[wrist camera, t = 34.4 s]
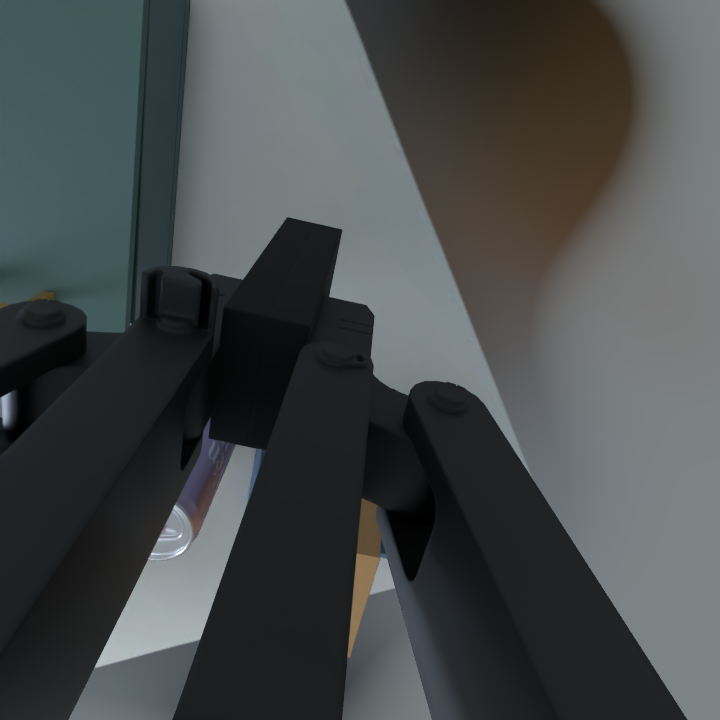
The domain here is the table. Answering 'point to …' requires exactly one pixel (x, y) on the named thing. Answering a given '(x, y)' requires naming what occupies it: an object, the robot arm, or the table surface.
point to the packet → (364, 565)
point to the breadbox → (159, 138)
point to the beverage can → (194, 499)
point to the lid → (71, 153)
